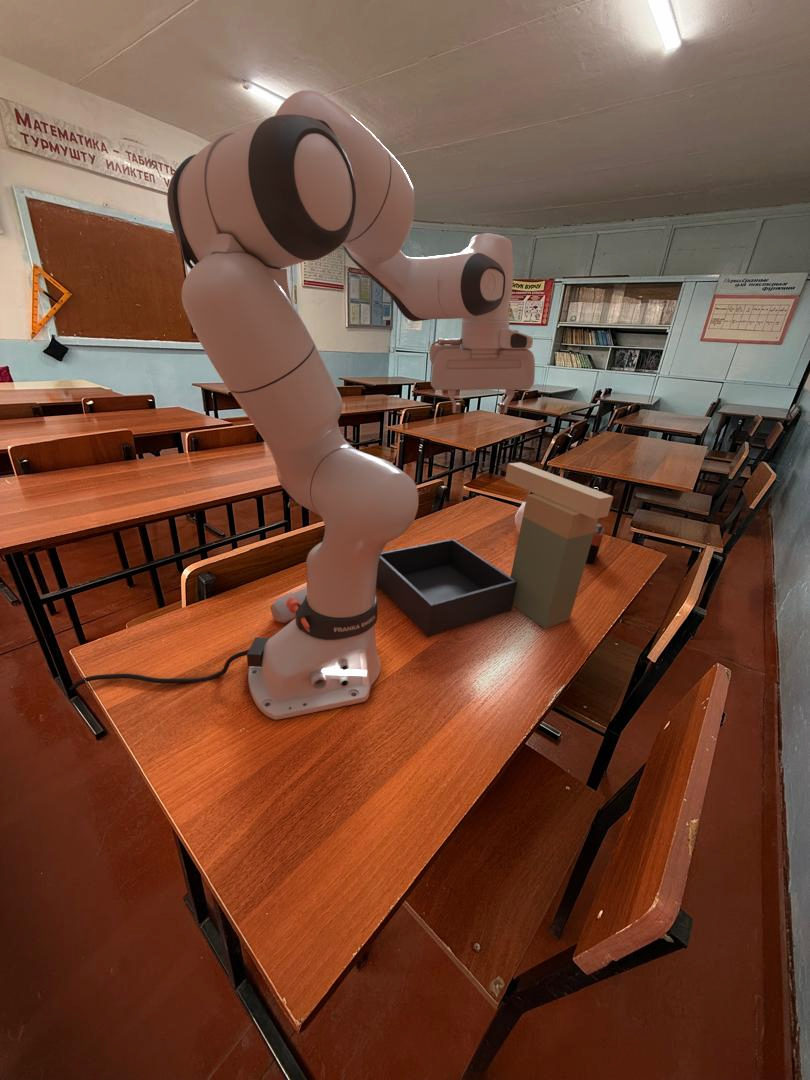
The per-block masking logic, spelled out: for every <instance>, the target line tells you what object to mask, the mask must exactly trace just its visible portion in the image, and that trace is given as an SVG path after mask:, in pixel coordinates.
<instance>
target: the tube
mask: <svg viewBox="0 0 810 1080" xmlns="http://www.w3.org/2000/svg"><path fill="white" fill-rule="evenodd" d="M306 595H307V587H305V588H302V589H300V590H298V591H294V592H291V593H289V594H287V595H284V596H281V597H279V598H277V599H275V601H274V602H273V603H272V605H271V606H270V612H271V616H272V619H273V620H274V621H276V622H278V623H282V624H287V623H290V622H291V621H292V620H294V619H295V618H296V613H292V612H290V611H289V608H288V607H287V606H286V601H288V599H289V598H291V597H295V598H296V599H297V600H298V602H299V603H300V604H302V603H303V601H304V599H305V597H306Z"/></svg>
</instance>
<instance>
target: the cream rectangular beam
mask: <svg viewBox="0 0 810 1080" xmlns="http://www.w3.org/2000/svg"><path fill="white" fill-rule="evenodd" d="M506 466H507V467H506V472H505V479H504V481H505V482H507V483H510V484H511V485H514V486H516V487H518V488H521V489H523V490H526V491H528V492H530V493H531V494H537V495H539V496H542V497H544V498H546V499H549V500H551V501H553V502H555V503H558V504H560V505H562V506H565V507H567V508H569V509H572V510H574V511H576V512H579V513H581V514H583V515H586V516H588V517H590V518H593V519H597V518H598V519H601V518H602V519H603V518H606V517H607V518H608V516H609V513H610V509H611V507H612V503H613V499H614V496H613V495H611V494H608V493H605V492H603V491H600V490H598V489H594V488H592V487H590V486H586V485H584V484H582V483H578V482H575V481H574V480H573V481H572V480H571V479H567V478H565V477H562V476H559V475H558V474H557V475H556V474H555V473H551V472H549V471H546V470H543V469H541V468H538V467H534V466H532V465H529V464H527V463H524V462H522V461H519V462H509V463H507V465H506Z"/></svg>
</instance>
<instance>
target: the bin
mask: <svg viewBox="0 0 810 1080" xmlns="http://www.w3.org/2000/svg"><path fill="white" fill-rule="evenodd" d="M376 586H378V587H379V588H380V590H381V591H382V592H383V593H385V595H386V596H387V597H388V598H389V599H390V600H391V601H392V603H394V604H395V605H396V607H398V608H399V609H400V610H401V612H402V613H404V615H405V616H407V618H408V619H409V620H410V621H411V622H412V623H413V624H414V625H415V626H416V627H417V628H418V629H419V630H420V631H421V632H422V633H423V634H424V635H425V637H426V638H430V637H433V636H436V635H439V634H443V633H446V632H449V631H452V630H455V629H458V628H462V627H464V626H467V625H470V624H471V625H472V624H474V623H476V622H480V621H482V620H485V619H489V618H492V617H495V616H498V615H502V614H505V613H508V612H511V611H512V610H513V600H514V596H515V591H516V586H517V581H516V580H514V579H513V578H511V575H508V574H507V573H506V572H504V571H502V570H501V569H499V568H497V567H496V566H495V565H494V564H492V563H490V562H489V561H487V560H486V559H484V558H483V557H481V556H480V555H479V554H477V553H475V552H474V551H472V550H471V549H469V548H468V547H466V546H465V545H464V544H462V543H460V542H459V541H458V540H456V539H455V538H451V539H445V540H438V541H434V542H429V543H423V544H418V545H413V546H408V547H403V548H397V549H393V550H387V551H382V553H381V555H380V558H379V562H378V570H377V580H376Z"/></svg>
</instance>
